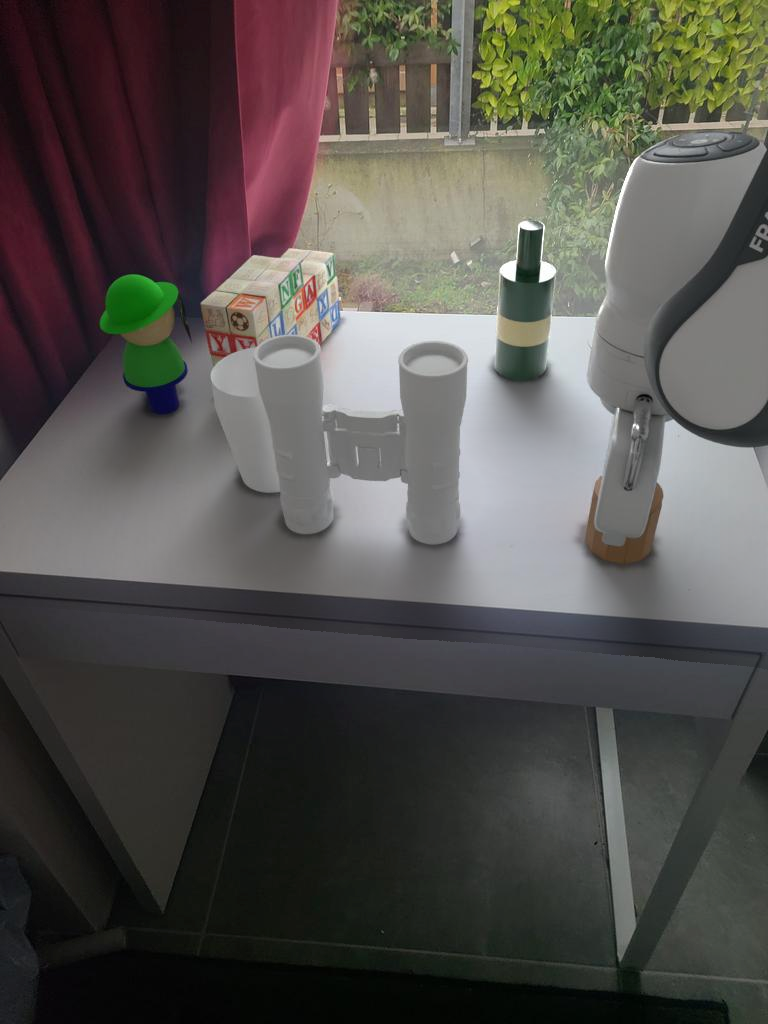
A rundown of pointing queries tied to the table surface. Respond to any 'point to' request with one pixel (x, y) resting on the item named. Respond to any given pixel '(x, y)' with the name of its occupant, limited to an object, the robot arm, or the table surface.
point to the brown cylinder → (633, 546)
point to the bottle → (525, 308)
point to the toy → (147, 337)
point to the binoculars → (366, 434)
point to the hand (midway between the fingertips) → (618, 503)
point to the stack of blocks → (273, 302)
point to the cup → (245, 420)
